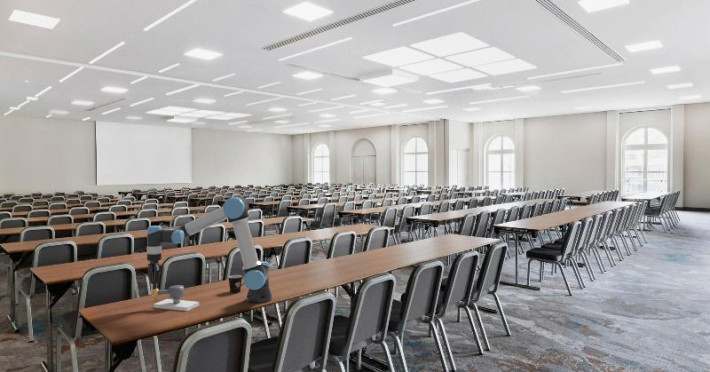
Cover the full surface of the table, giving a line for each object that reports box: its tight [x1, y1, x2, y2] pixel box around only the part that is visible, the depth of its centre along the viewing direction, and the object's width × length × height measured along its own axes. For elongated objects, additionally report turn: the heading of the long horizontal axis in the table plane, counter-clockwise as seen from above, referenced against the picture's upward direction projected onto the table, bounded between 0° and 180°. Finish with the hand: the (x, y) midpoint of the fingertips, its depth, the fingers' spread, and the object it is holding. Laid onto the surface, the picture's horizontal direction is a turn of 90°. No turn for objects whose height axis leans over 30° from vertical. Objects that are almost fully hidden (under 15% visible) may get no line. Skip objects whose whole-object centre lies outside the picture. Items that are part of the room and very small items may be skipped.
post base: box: [153, 297, 200, 312], centre depth 252 cm, size 22×11×6 cm, turn 74°
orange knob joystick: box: [152, 284, 185, 301], centre depth 250 cm, size 16×8×6 cm, turn 109°
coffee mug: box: [228, 274, 245, 294], centre depth 284 cm, size 12×9×10 cm
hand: (153, 294), depth 249 cm, fingers closed
